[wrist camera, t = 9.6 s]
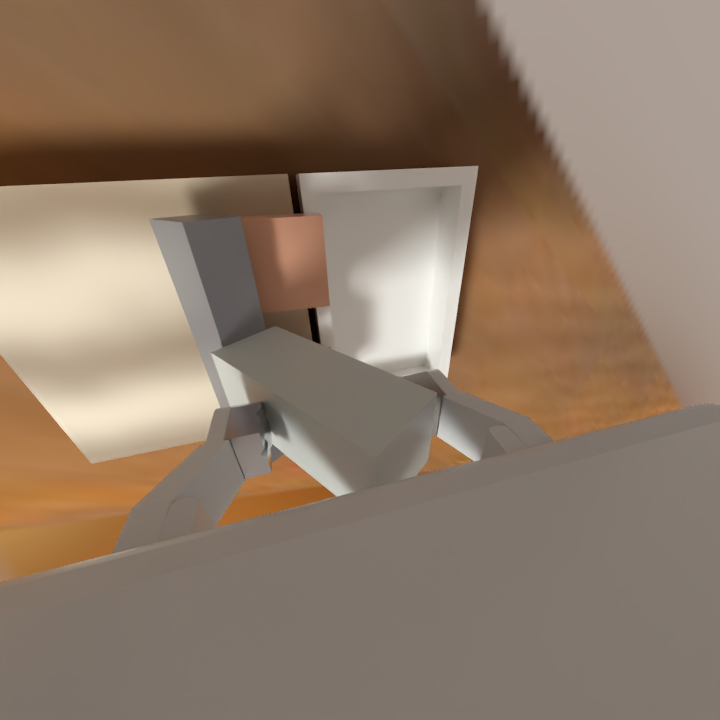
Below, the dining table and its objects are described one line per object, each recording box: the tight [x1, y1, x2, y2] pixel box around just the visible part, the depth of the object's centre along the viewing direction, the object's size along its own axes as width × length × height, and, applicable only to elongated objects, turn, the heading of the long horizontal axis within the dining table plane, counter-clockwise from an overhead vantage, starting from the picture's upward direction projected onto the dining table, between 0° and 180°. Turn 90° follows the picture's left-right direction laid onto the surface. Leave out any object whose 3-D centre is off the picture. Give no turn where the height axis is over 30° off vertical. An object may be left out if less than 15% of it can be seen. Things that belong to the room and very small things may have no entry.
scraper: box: [149, 214, 437, 496], centre depth 11 cm, size 12×3×11 cm
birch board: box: [0, 174, 312, 464], centre depth 16 cm, size 14×14×3 cm
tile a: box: [240, 213, 330, 313], centre depth 13 cm, size 4×4×2 cm
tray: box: [295, 166, 479, 378], centre depth 18 cm, size 14×9×2 cm, turn 2°
